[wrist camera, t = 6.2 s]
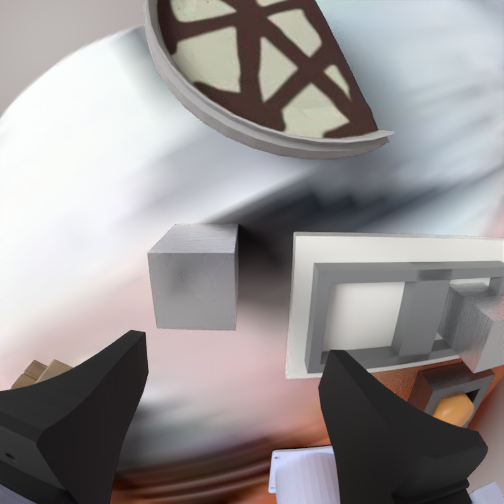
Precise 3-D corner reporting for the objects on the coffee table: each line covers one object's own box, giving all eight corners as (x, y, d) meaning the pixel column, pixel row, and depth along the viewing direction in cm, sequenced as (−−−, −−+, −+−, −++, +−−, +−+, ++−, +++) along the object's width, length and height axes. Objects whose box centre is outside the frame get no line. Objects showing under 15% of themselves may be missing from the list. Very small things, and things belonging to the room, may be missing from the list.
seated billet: (469, 324, 21) (508, 362, 16) (435, 330, 21) (473, 373, 16) (481, 281, 20) (527, 314, 14) (447, 284, 20) (493, 321, 14)
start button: (451, 411, 25) (463, 429, 22) (419, 420, 25) (430, 440, 22) (466, 380, 23) (480, 398, 21) (433, 388, 23) (446, 409, 20)
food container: (156, 28, 16) (92, -49, 6) (242, -9, 15) (239, -107, 5) (235, 190, 19) (222, 226, 9) (326, 150, 18) (400, 149, 9)
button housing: (454, 413, 26) (464, 429, 23) (396, 428, 26) (405, 448, 23) (479, 357, 24) (494, 374, 21) (419, 370, 24) (433, 391, 21)
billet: (238, 282, 21) (235, 330, 15) (179, 282, 21) (157, 328, 15) (238, 223, 20) (234, 252, 14) (175, 223, 20) (147, 252, 14)
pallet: (474, 347, 23) (488, 361, 21) (284, 370, 23) (288, 391, 21) (504, 237, 20) (523, 246, 18) (293, 232, 20) (300, 242, 17)
